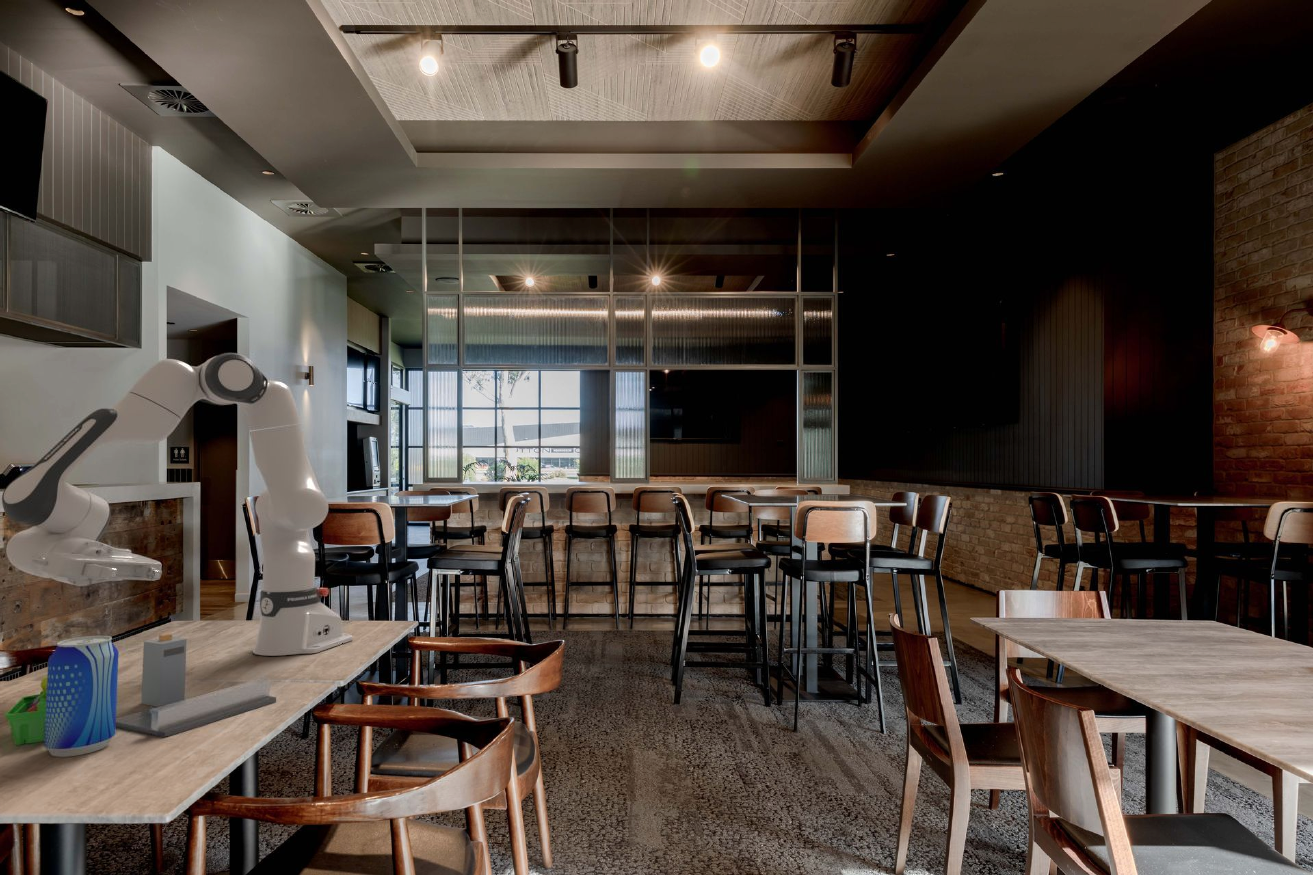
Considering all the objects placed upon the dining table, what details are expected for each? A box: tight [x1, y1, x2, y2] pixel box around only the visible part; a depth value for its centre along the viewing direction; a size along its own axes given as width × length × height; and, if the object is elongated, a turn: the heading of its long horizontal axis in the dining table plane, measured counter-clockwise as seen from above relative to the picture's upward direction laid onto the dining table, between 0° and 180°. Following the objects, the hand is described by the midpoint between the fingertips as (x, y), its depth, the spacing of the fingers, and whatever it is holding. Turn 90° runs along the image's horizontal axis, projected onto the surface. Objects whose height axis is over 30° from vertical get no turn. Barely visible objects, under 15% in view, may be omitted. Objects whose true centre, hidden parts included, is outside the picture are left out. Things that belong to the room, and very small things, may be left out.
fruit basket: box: [4, 675, 47, 746], centre depth 117 cm, size 11×9×11 cm
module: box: [141, 633, 188, 707], centre depth 134 cm, size 4×5×12 cm
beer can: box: [43, 635, 119, 758], centre depth 111 cm, size 8×8×16 cm
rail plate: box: [116, 678, 277, 738], centre depth 127 cm, size 20×14×4 cm
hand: (136, 574), depth 140 cm, fingers open, 8 cm apart
